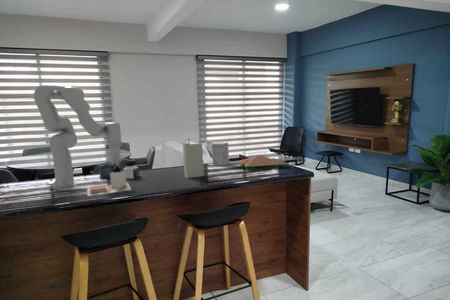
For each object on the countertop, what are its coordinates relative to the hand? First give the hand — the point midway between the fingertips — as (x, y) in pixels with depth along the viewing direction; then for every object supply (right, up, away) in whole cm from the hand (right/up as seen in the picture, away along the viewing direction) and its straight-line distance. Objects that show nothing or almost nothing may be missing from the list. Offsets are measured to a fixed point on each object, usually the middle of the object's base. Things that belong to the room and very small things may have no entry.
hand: (117, 174), depth 175 cm
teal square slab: (-8, -6, -8) cm, 13 cm away
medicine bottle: (+3, -4, +18) cm, 19 cm away
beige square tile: (+2, -6, -3) cm, 7 cm away
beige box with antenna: (+43, -3, +20) cm, 47 cm away
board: (-2, -8, -8) cm, 12 cm away
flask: (-14, -4, +22) cm, 26 cm away
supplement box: (+60, +3, +54) cm, 80 cm away
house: (+89, +2, +43) cm, 99 cm away
